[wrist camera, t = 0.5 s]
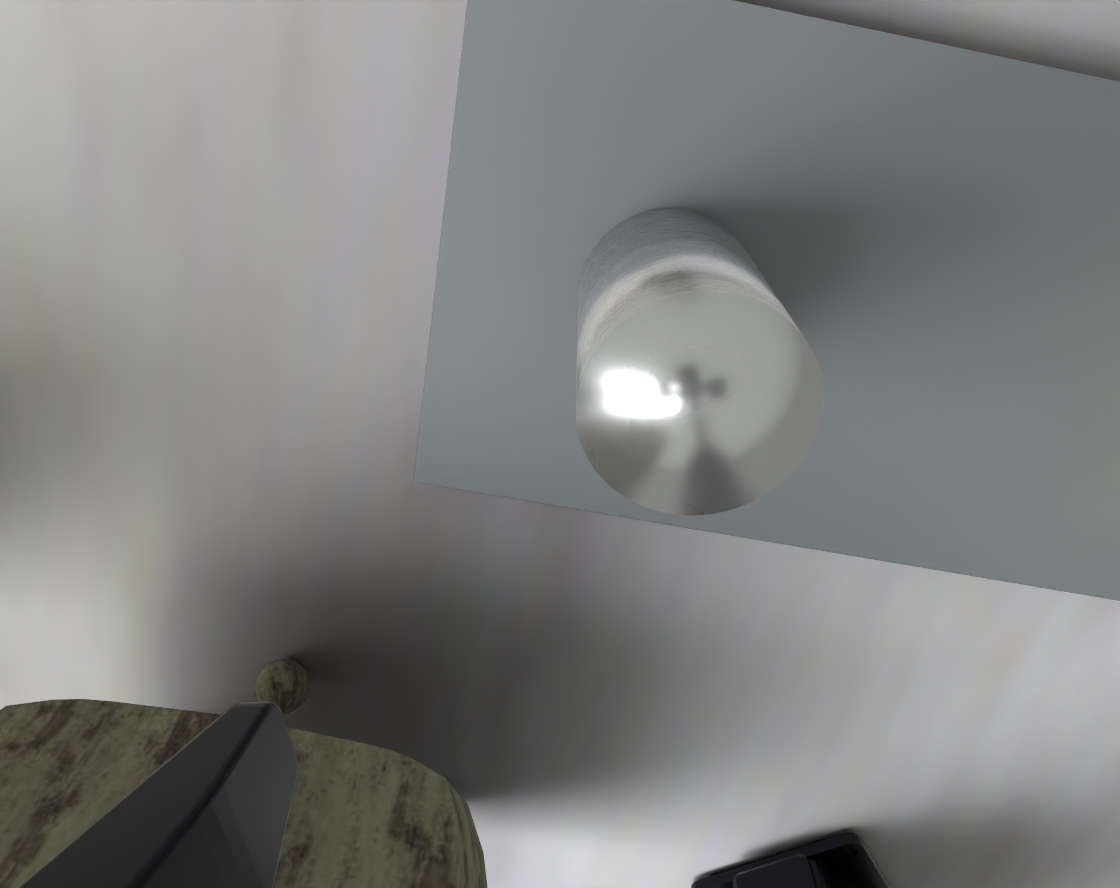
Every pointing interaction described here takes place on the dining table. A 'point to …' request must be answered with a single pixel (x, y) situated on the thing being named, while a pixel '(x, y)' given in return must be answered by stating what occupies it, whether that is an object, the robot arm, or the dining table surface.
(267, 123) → the dining table surface
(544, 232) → the fit board
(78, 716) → the tabletop clock
